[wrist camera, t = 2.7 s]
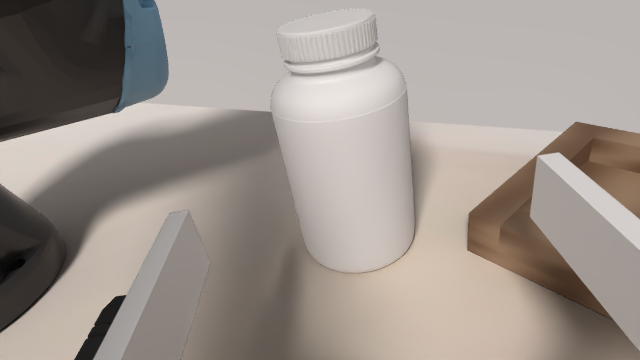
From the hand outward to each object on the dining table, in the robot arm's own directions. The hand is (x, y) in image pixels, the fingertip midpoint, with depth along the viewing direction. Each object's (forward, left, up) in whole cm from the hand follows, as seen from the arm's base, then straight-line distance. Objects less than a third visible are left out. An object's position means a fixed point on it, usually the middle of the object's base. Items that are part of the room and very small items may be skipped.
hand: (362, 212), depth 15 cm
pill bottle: (-8, +6, -10) cm, 14 cm away
